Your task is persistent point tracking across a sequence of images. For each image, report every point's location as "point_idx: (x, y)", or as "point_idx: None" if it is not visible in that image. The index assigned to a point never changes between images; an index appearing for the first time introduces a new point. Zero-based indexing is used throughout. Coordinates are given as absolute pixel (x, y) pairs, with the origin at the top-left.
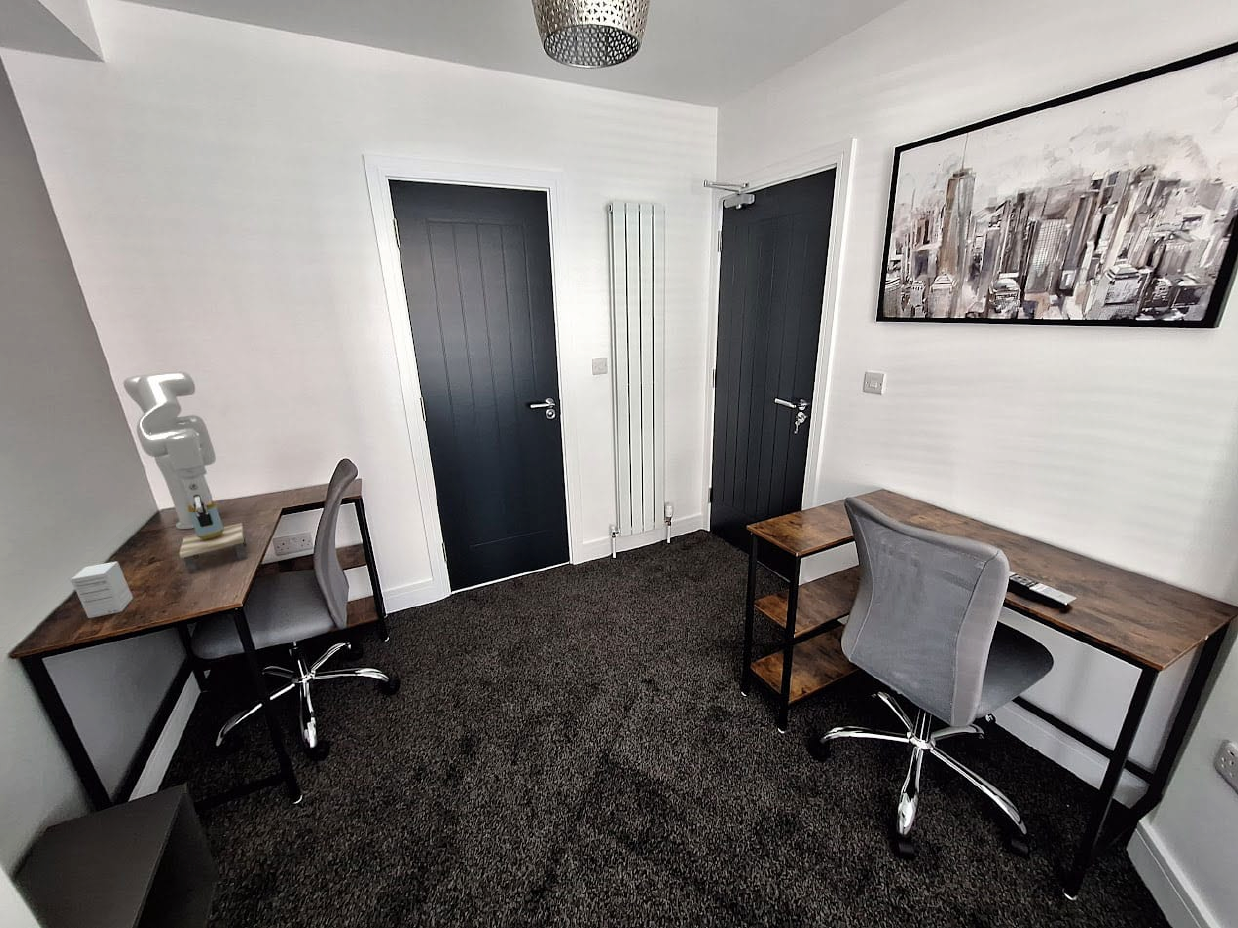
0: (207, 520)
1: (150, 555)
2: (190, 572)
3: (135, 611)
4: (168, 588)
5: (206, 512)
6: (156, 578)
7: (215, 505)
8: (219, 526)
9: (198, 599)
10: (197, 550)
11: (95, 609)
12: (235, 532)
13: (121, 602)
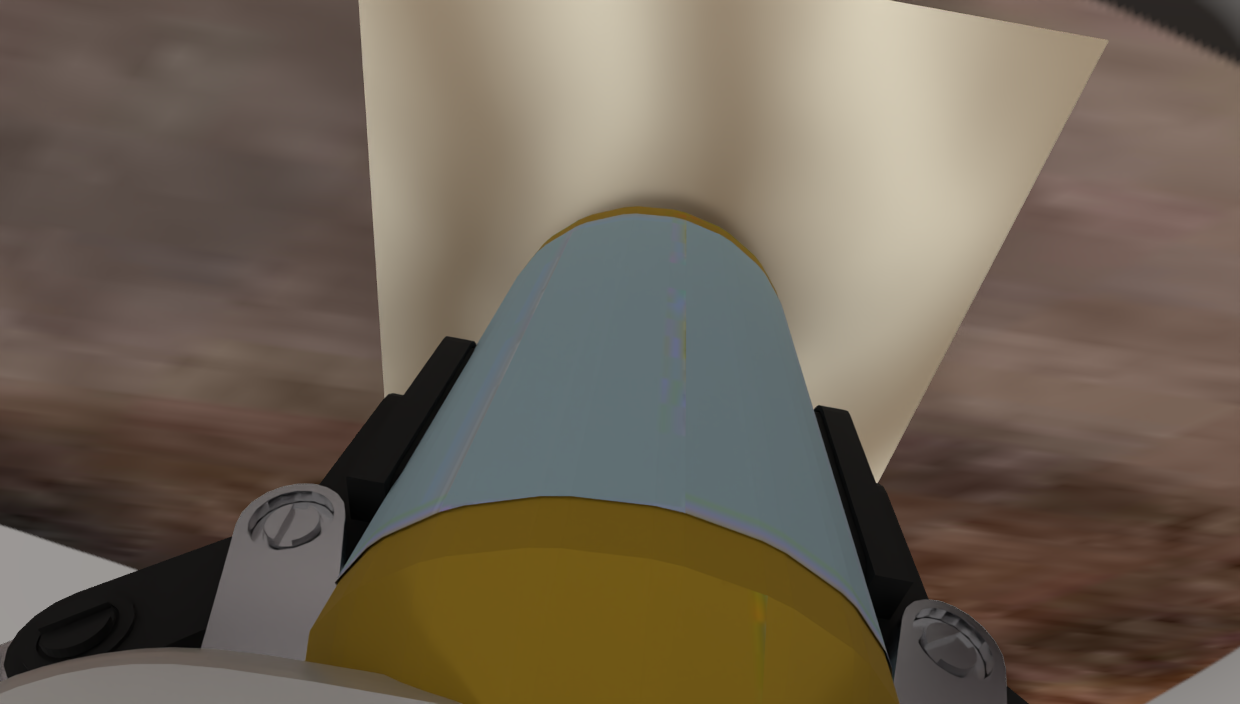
0: (896, 530)
1: (267, 490)
2: None
3: (1055, 625)
4: (921, 509)
5: (994, 686)
6: None
7: (703, 522)
8: (761, 289)
9: None
10: (887, 452)
11: None
12: (730, 70)
13: None
